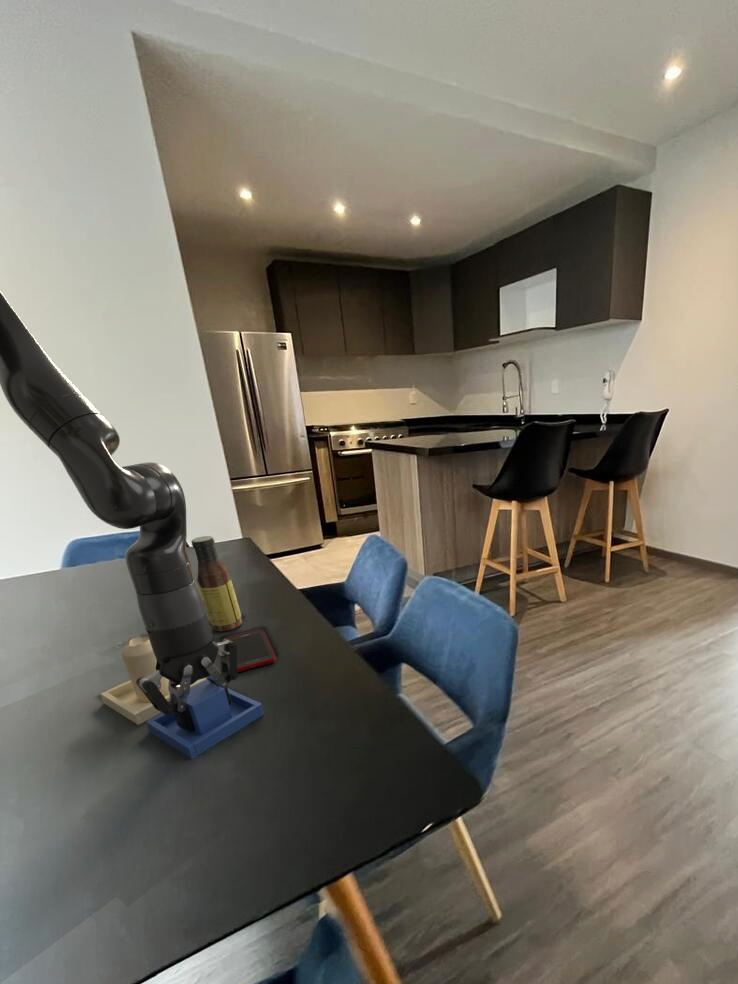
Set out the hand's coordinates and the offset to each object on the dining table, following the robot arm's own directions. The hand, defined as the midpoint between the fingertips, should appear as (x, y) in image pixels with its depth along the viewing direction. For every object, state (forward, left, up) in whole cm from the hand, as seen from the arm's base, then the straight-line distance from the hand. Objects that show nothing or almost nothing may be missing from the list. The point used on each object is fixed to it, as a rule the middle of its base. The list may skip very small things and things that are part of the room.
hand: (206, 718), depth 73 cm
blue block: (0, 0, 0) cm, 0 cm away
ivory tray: (0, +15, -1) cm, 15 cm away
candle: (0, +15, -1) cm, 15 cm away
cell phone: (+17, +14, -1) cm, 22 cm away
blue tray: (0, 0, -1) cm, 1 cm away
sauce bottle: (+22, +29, -1) cm, 36 cm away
